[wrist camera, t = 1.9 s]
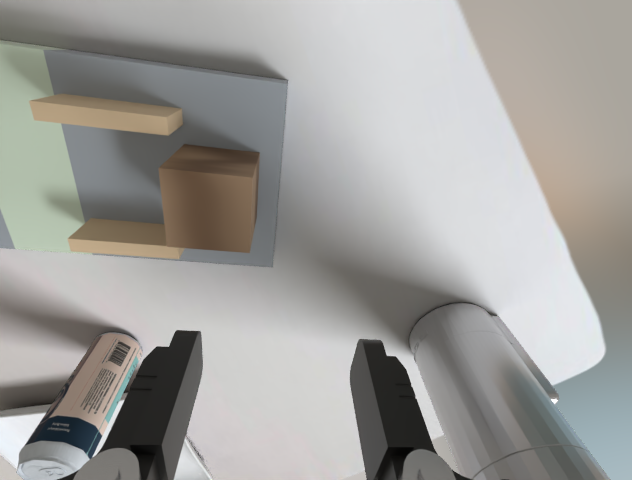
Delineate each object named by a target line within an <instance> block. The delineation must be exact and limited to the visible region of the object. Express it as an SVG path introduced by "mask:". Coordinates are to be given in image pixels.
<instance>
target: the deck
mask: <svg viewBox="0 0 632 480" xmlns="http://www.w3.org/2000/svg"><path fill="white" fill-rule="evenodd" d="M287 86H288V80H282V79H275V78H268V77H261V76H254V75H246V74H239V73H232V72H225V71H218V70H211V69H204V68H197V67H190V66H182V65H175V64H168V63H161V62H154V61H147V60H140V59H133V58H125V57H118V56H111V55H104V54H97V53H90V52H83V51H76V50H68V49H61V48H54V47H47V46H40V45H33V44H26V43H19V42H12V41H4V40H0V248H8V249H22V250H36V251H50V252H64V253H78V254H92V255H106V256H120V257H134V258H148V259H162V260H176V261H190V262H205V263H219V264H233V265H247V266H261V267H273V257H274V244H275V232H276V220H277V208H278V196H279V183H280V171H281V159H282V147H283V135H284V122H285V110H286V98H287ZM184 144H188V145H197V146H206V147H215V148H224V149H232V150H241V151H250V152H259V153H260V161H259V181H258V202H257V219H256V224H255V229H254V234H253V239H252V244H251V249H250V253H241V252H228V251H215V250H202V249H189V248H175V247H167V243H166V234H165V224H164V215H163V206H162V196H161V187H160V178H159V169H158V168H159V167H160V166H161V165H162V164H163V163H164V162H165V161H167V160H168V159H169V158H170V157H171V156H172V155H173V154H174V153H175V152H176V151H177V150H178V149H179V148H181V147H182V146H183V145H184Z"/></svg>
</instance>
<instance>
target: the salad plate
mask: <svg viewBox="0 0 632 480" xmlns="http://www.w3.org/2000/svg"><path fill="white" fill-rule="evenodd" d="M127 394H128V393H123V395H122V397H121V399H120V401H119V403H118V405H117V407H116V409H115V411H114V413H113V415H112V417H111V419H110V422H109V424H108V426H107V428H106V430H105V432H104V434H103V436H102V438H101V440H100V442H99V444H98V446H97V448H96V451H95V453H94V455H93V457H94V456H95V455H96V454H97V453H98V452H99V451H100V449H101V448H102V446H103V444H104V443H105V441H106V439H107V436H108V434H109V432H110V430H111V428H112V426H113V424H114V422H115V419H116V417H117V415H118V413H119V411H120V409H121V407H122V405H123V402H124V400H125V398H126V396H127ZM51 405H52V404H48V405H40V406H32V407H24V408H15V409H8V410H2V411H0V455H1V456H2V457H3V458H4V459H5V460H6V461H8V462H9V463H10V464H11V465H12V466H13V467H14V468H15V469H17V467H18V461H19V452H20V451H21V449H22V448H23V447H24V445H25V444H26V442H27V441H28V439H29V438H30V436H31V435H32V433H33V432H34V430H35V429H36V427H37V426H38V424H39V423H40V421H41V420H42V418H43V417H44V415H45V414H46V412H47V411H48V409H49V408H50V406H51ZM174 480H214V479H213V477H212V475H211V473H210V471H209V470H208V468H207V466H206V465H205V464H204V462H203V461H202V460H201V458H200V457H199V456H198V454H197V453H196V451H195V450H194V448H193V447H192V445H191V443H190V442H189V440H188V438H187V437H186V436H185V440H184V443H183V447H182V451H181V454H180V458H179V462H178V465H177V469H176V473H175V477H174Z"/></svg>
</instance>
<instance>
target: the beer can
mask: <svg viewBox="0 0 632 480" xmlns="http://www.w3.org/2000/svg"><path fill="white" fill-rule="evenodd" d="M142 353H143V350H142V347H141V345H140V344H139V343H138V341H136V340H135V339H133V338H132V337H130V336H128V335H126V334H121V333H117V332H109V333H104V334H101V335H99V336H98V337H96V338H95V340H94V341H93V343H92V345H91V346H90V348H89V349H88V351H87V352H86V354H85V355H84V357H83V358H82V360H81V361H80V363H79V364H78V366H77V367H76V369H75V370H74V372H73V373H72V375H71V376H70V378H69V379H68V381H67V382H66V384H65V385H64V387H63V388H62V390H61V391H60V393H59V394H58V396H57V397H56V399H55V400H54V402H53V403H52V405H51V406H50V408H49V409H48V411H47V412H46V414H45V415H44V417H43V418H42V420H41V421H40V423H39V424H38V426H37V427H36V429H35V430H34V432H33V433H32V435H31V436H30V438H29V439H28V441H27V442H26V444H25V445H24V447H23V448H22V449H21V451H20V452H19V461H18V467H17V471H16V473H17V474H18V475H19V476H20V477H21V478H22V479H23V480H57V479H60V478H63V477H65V476H68V475H70V474H72V473H74V472H76V471H77V470H79V469H80V468H81V467H82V466H83V465H84V464H85V463H86V462H87V461H88V460H90V459H91V458H92V457H93V455H94V453H95V451H96V448H97V446H98V444H99V442H100V440H101V438H102V436H103V434H104V432H105V430H106V428H107V426H108V424H109V422H110V419H111V417H112V415H113V413H114V411H115V409H116V407H117V405H118V403H119V401H120V399H121V397H122V395H123V392H124V390H125V388H126V386H127V384H128V382H129V380H130V378H131V376H132V374H133V372H134V370H135V368H136V366H137V363H138V361H139V360H140V358H141V357H142Z"/></svg>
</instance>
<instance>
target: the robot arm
mask: <svg viewBox="0 0 632 480" xmlns="http://www.w3.org/2000/svg"><path fill="white" fill-rule="evenodd" d="M409 345H410V348H411V350H412V353H413V356H414V360H415V362H416V364H417V366H418V369H419V371H420V374H421V376H422V379H423V382H424V384H425V387H426V390H427V392H428V395H429V397H430V400H431V402H432V405H433V407H434V410H435V412H436V415H437V418H438V420H439V423H440V425H441V428H442V430H443V433H444V435H445V438H446V440H447V443H448V445H449V448H450V451H451V453H452V456H453V458H454V461H455V463H456V466H457V468H458V471H459V474H458V473H456V472H454V471H453V470H451V468H450V467H449V465H448V464H447V463H446V462H445V461H444V460H443V459H442V458H441V457H440V456H438V454H437V453H436V451H435V449H434V447H433V444H432V441H431V439H430V436H429V433H428V430H427V427H426V424H425V422H424V419H423V416H422V413H421V410H420V408H419V405H418V402H417V399H415V393H414V391H413V388H412V387H411V382H410V379H409V376H408V374H407V371H406V369H405V367H404V366H403V365H402V364H401V362H400V361H399V360H398V359H397V357H395V356H387V355H386V352H385V349H384V346H383V343H382V341H381V340H368V339H359V341H358V343H357V347H356V351H355V354H354V358H353V362H352V365H351V370H350V385H351V391H352V397H353V403H354V409H355V414H356V420H357V426H358V432H359V437H360V443H361V449H362V455H363V460H364V466H365V472H366V478H367V480H610V478H609V477H608V476H607V474H606V473H605V472H604V470H603V469H602V468H601V466H600V465H599V464H598V462H597V461H596V459H595V458H594V457H593V456H592V454H591V453H590V451H589V450H588V449H587V447H586V446H585V445H584V443H583V442H582V441H581V439H580V438H579V437H578V435H577V434H576V432H575V431H574V430H573V428H572V427H571V426H570V424H569V423H568V421H567V420H566V419H565V417H564V416H563V415H562V413H561V412H560V411H559V409H558V408H557V406H556V405H555V404H556V403H557V402H558V400H559V396H558V393H557V392H556V391H555V389H554V388H553V386H552V385H551V384H550V382H549V381H548V380H547V379H546V377H545V376H544V375H543V373H542V372H541V371H540V369H539V368H538V367H537V365H536V364H535V363H534V362H533V360H532V359H531V358H530V356H529V355H528V354H527V352H526V351H525V350H524V348H523V347H522V346H521V345H520V343H519V342H518V341H517V339H516V338H515V337H514V335H513V334H512V333H511V331H510V330H509V329H508V328H507V326H506V325H505V324H504V322H503V321H502V320H501V318H500V317H499V316H492V315H490V314H489V313H488V312H487V311H486V310H484V309H483V308H481V307H479V306H477V305H473V304H468V303H456V304H450V305H446V306H442V307H440V308H437V309H435V310H433V311H431V312H430V313H428V314H426V315H425V316H424V317H423V318H421V319H420V320H419V321H418V322H417V324H416V325H415V326H414V328H413V330H412V332H411V334H410V338H409ZM202 368H203V357H202V340H201V332H200V331H182V330H177V331H176V332H175V334H174V336H173V338H172V341H171V343H170V346H169V347H156V348H155V349H154V350H153V351H152V352H151V353H150V354H149V355H148V356H147V357H146V358H145V359H144V360H143V362H142V364H141V366H140V368H139V370H138V373H137V375H136V378H135V379H134V381H133V383H132V385H131V387H130V391H129V392H128V394H127V396H126V398H125V400H124V402H123V405H122V407H121V409H120V411H119V413H118V415H117V417H116V419H115V422H114V424H113V426H112V428H111V430H110V432H109V434H108V436H107V439H106V441H105V443H104V444H103V446H102V448H101V449H100V451H99V452H98V453H97V454H96V455H95V456H94V457H92V458H91V459H90V460H88V461H87V462H86V463H85V464H84V465H83V466H82V467H81V468H80V469H79V470H77V471H76V472H74V473H72V474H70V475H68V476H65V477H63V478H60V479H57V480H174V477H175V473H176V469H177V465H178V462H179V458H180V454H181V451H182V447H183V443H184V440H185V436H186V432H187V428H188V425H189V421H190V417H191V414H192V410H193V406H194V403H195V399H196V395H197V392H198V388H199V384H200V380H201V375H202Z"/></svg>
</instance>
